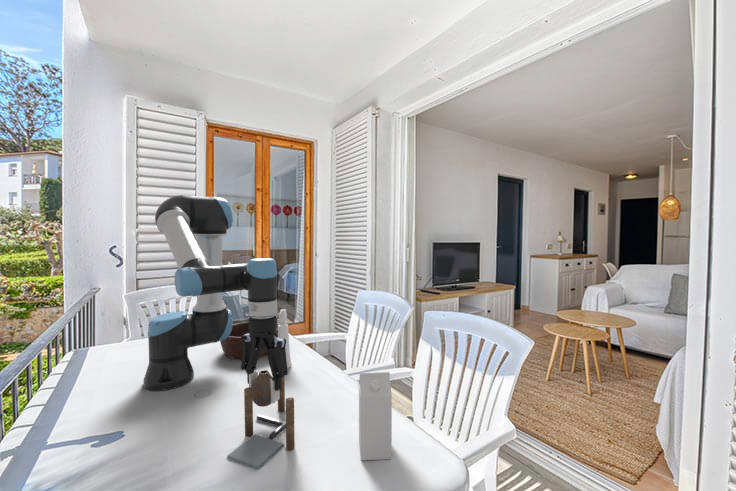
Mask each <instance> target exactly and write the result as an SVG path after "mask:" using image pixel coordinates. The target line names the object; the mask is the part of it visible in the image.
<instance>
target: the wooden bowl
mask: <svg viewBox="0 0 736 491" xmlns="http://www.w3.org/2000/svg"><path fill="white" fill-rule="evenodd" d="M278 325H279V323H277V329H276V334H277V338H278ZM248 333H250V331H249V323H248V321H242V322H237V323H233V326H232V331H231V333H230V335H229V337H228V338H227V339H225V340H222V341H219V342H220V345H221V346H220V347H221V349H222V351H223V353H224V354H225V356H226V357H227V358H229V359H232V360H238V361H239V360H240V361H241V360H242V345H243V343H242V338H241V336H242V335H245V334H248ZM275 345H276V343H275ZM269 350H271V349H269ZM263 357H267V355H265V354H264V351H263V350H261V351H260V355H259V358H258V359H260V358H263Z"/></svg>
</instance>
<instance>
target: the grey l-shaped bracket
mask: <svg viewBox="0 0 736 491" xmlns="http://www.w3.org/2000/svg"><path fill="white" fill-rule="evenodd" d="M256 421H259V422H263V423H266V424H269V425H273V426H276V429H275V430H273V431H272V432H271V433H269V435H268V439H272V440H274V439H275V438H276V437H277V436H279V435H280V434H281V433H283V431H284V430H285V431H286V421H284V420H281V419H277V418H273V417H269V416H267V415H263V414H257V415H256Z"/></svg>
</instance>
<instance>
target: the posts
mask: <svg viewBox="0 0 736 491" xmlns="http://www.w3.org/2000/svg"><path fill="white" fill-rule="evenodd" d="M285 378H286V376H284V377H282V378H281V389H280V399H279V400H278V401H277V412H279V413H283V412H285V422H286V429H285V450H287V451H289V452H290V451H292V450H294V449H295V445H296V444H295V443H296V442H295V398H294V397H286V393H285V392H286V390H285V386H286V383H285V382H286V381H285V380H286V379H285ZM243 389H244V390H243V391H244V392H243V394H244V395H243V399H244V401H243V402H244V403H243V404H244V408H243V409H244V437H247V438H251V437H252V436H253V435H254V405H253V404H254V402H253V392H252V388H251V387H249V386H247V387H246V388H243Z"/></svg>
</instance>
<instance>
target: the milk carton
mask: <svg viewBox="0 0 736 491" xmlns="http://www.w3.org/2000/svg"><path fill="white" fill-rule="evenodd" d="M390 378H391V376H390V371H381V372H380V371H378V372H360V373H359V379H358V380H359V381H358V445H359V455H360V456H359V457H360V461H373V460H374V461H377V460H392V444H393V443H392V442H393V440H392V439H393V438H392V437H393V435H392V434H393V431H392V420H393V419H392V418H393V417H392V416H393V414H392V410H393V408H392V407H393V406H392V405H393V404H392V402H393V401H392V399H393V397H392V396H393V395H392V394H393V393H392V386H391V380H390Z"/></svg>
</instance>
